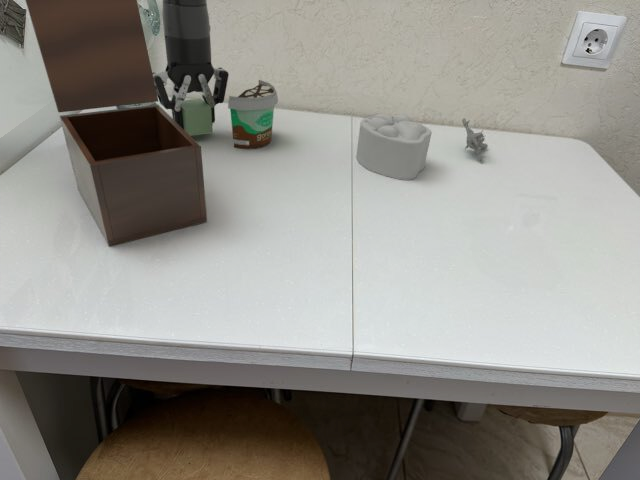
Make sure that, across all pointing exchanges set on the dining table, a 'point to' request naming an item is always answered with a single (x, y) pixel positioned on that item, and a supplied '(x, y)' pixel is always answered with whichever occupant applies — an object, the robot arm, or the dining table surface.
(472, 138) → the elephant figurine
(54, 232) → the dining table surface
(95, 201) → the chest
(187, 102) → the block
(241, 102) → the food container
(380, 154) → the lumpy-topped squat cylinder
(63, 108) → the lid
